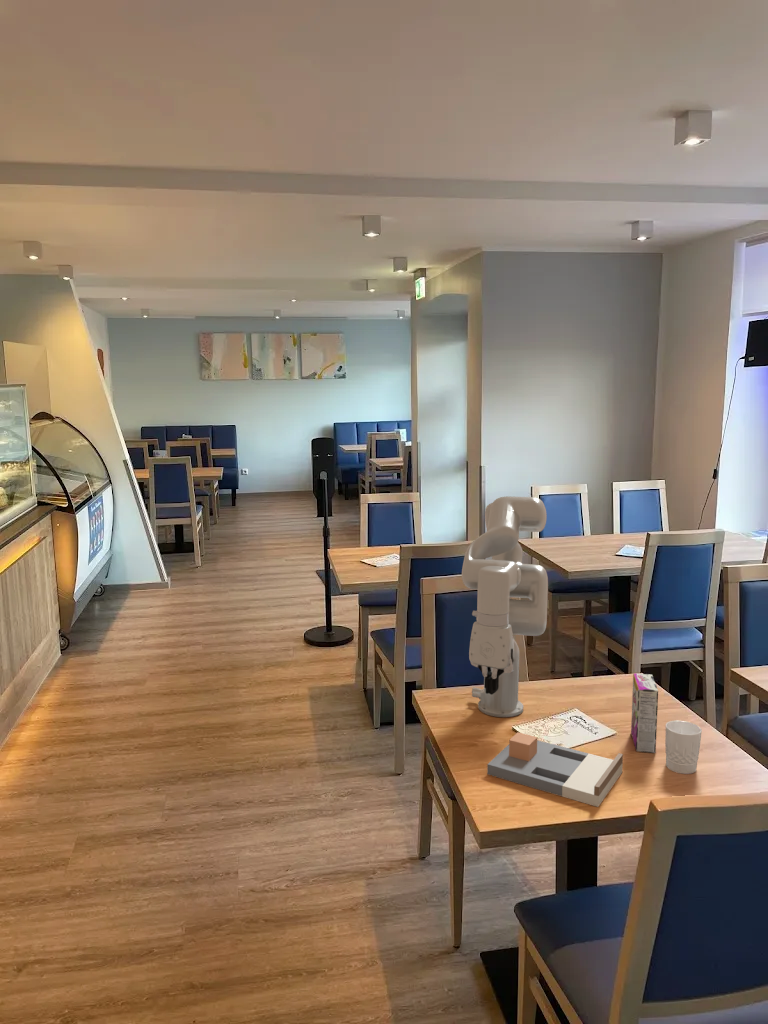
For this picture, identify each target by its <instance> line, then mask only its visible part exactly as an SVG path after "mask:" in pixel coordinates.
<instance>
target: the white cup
mask: <svg viewBox="0 0 768 1024" xmlns="http://www.w3.org/2000/svg"><path fill="white" fill-rule="evenodd" d="M701 739H702V728H701V727H700V726H699V725H698V724H696V723H693V722H690V721H685V720H678V719H677V720H676V719H675V720H670V721H667V722H665V740H664V741H665V743H664V744H665V766H666V767H667V769H668V770H669V771H672V772H675V773H677V774H682V775H683V774H684V775H688V774H694V773H696V772H697V767H698V760H699V754H700V749H701Z"/></svg>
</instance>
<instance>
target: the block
mask: <svg viewBox="0 0 768 1024" xmlns="http://www.w3.org/2000/svg"><path fill="white" fill-rule="evenodd" d="M537 740H538V737H537V736H533V735H531V734H526V733H522V732H519V731H517V732H516V733H515V734H514V735H513V736H512V737H511V738H510V739H509V741H508V745H509V756H511V757H515V758H518V759H522V760H526V761H530V760H531V759H532V758H533V757H534V755H535V754H536V753H537Z"/></svg>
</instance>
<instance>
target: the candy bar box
mask: <svg viewBox="0 0 768 1024" xmlns="http://www.w3.org/2000/svg"><path fill="white" fill-rule="evenodd" d="M632 674H633V675H632V696H631V697H632V698H631V699H632V700H631V726H630V733H631V737H632V740H633V744H634V747H635V752H639V753H647V754H655V753H657V752H656V749H657V728H658V707H659V706H658V705H659V701H658V700H659V689H658V687H657V684H656V681H655V679H654V676H653V674H649V673H637V672H635V673H632Z"/></svg>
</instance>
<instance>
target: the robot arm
mask: <svg viewBox="0 0 768 1024" xmlns="http://www.w3.org/2000/svg"><path fill="white" fill-rule="evenodd" d="M484 522H485V528H486V531H485V532H484V533H482V534H481V535H479V536H478V537H476V538H475V539H474V540H473V541H471V543H470V544H469V545H468V547H467V549H466V550H465V552H464V553H465V554H464V558H463V563H462V567H461V568H462V569H461V581H462V583H463V585H464V586H465V587H466V588H468V589H469V590H470V589H471V590H477V600H476V601H477V604H476V605H477V607H476V608H477V609H476V610H472V613H471V615H472V616H473V617H475V618H476V619H475V620H476V621H474V622H473V624H472V629H471V634H470V641H469V648H468V649H469V650H468V651H469V652H468V655H469V656H468V658H469V661H470V664H471V666H473V667H475V668H478V669H479V670H480V672H481V674H482V676H483V688H478V687H476V686H475V687H474V686H473V687H472V689H471V697H473V698H477V699H479V701H478V703H477V706H478V707H477V708H478V710H479V711H480V712H482V713H483V714H484V715H488V716H489V717H490V716H491V717H496V718H511V717H517V716H519V715H521V714H522V713H523V712H524V704H523V703H522V702H521V701H520V700H519V680H520V679H519V670H520V648H519V645H518V643H517V641H516V639H515V638H514V635H519V636H531V637H532V636H533V637H535V636H537V637H538V636H541V635H542V634H544V633H545V631H546V629H547V622H548V621H547V620H548V619H547V618H548V594H549V578H548V573H547V570H546V569H545V568H544V566H542V565H539V564H534V563H533V564H531V563H530V564H529V563H523V548H522V546H521V544H520V543H519V540H520V539H519V538H520V532H525V533H526V532H528V533H529V532H531V533H540V532H542V531H544V529H545V527H546V524H547V509H546V506H545V504H544V501H543V500H541V498H537V497H535V496H534V497H533V496H509V495H508V496H499V497H498V498H496V499H495V500H493V502H491V503H489V504H488V505H486V508H485V510H484ZM487 558H491V559H487ZM512 598H517V599H512ZM518 598H522V599H518ZM527 599H529V600H527Z"/></svg>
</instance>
